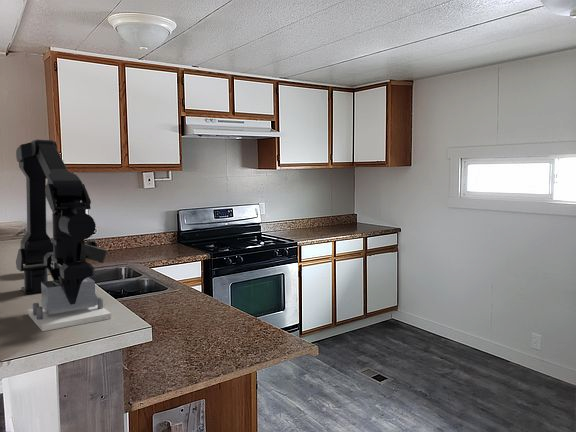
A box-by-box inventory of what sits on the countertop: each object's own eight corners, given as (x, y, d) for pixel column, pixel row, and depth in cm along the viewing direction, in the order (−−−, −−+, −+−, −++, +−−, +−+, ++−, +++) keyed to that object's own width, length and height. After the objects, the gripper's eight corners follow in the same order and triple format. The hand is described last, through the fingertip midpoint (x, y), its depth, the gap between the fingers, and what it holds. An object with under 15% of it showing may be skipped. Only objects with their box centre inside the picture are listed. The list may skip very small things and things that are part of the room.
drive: (42, 307, 108) (41, 281, 108) (87, 300, 115) (86, 275, 114) (48, 314, 104) (47, 287, 103) (95, 306, 110) (94, 280, 110)
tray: (27, 314, 110) (27, 298, 110) (91, 303, 119) (91, 289, 119) (42, 331, 100) (41, 314, 99) (111, 318, 109) (110, 302, 108)
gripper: (117, 236, 105) (118, 304, 107) (90, 226, 120) (91, 286, 121) (63, 241, 98) (65, 313, 100) (42, 229, 113) (44, 293, 114)
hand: (68, 300), depth 109 cm, fingers closed on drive, 6 cm apart
